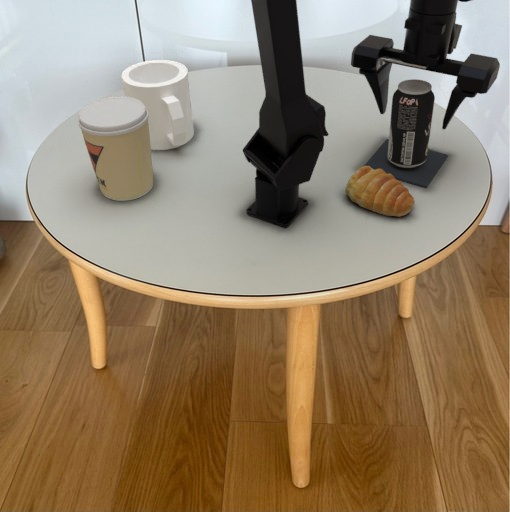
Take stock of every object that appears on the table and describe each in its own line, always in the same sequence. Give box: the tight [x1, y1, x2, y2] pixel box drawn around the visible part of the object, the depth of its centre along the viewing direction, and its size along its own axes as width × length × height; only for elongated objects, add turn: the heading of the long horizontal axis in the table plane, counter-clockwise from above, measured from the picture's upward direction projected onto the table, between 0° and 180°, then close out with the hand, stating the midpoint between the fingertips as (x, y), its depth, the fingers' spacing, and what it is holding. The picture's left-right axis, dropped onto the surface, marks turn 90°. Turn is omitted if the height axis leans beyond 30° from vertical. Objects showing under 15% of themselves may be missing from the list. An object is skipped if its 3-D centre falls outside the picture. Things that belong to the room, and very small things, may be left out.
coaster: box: [363, 138, 449, 189], centre depth 87 cm, size 10×10×1 cm
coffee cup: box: [77, 95, 154, 202], centre depth 80 cm, size 9×9×12 cm
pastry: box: [344, 165, 416, 217], centre depth 79 cm, size 9×7×4 cm
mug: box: [121, 59, 195, 151], centre depth 91 cm, size 14×10×11 cm
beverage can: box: [387, 78, 436, 168], centre depth 83 cm, size 6×6×12 cm
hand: (413, 120), depth 83 cm, fingers open, 9 cm apart
